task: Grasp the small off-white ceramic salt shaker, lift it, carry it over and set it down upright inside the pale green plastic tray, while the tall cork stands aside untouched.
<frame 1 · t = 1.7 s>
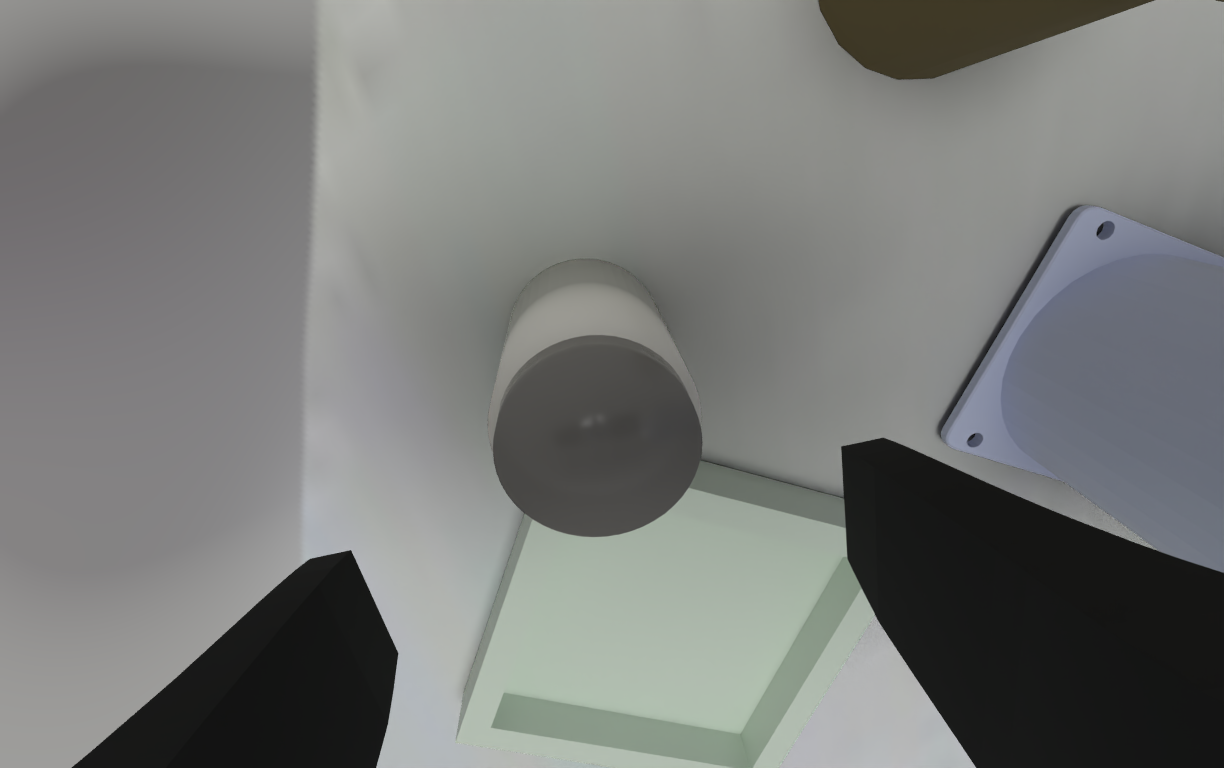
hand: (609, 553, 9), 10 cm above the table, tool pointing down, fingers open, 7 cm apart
tray: (666, 605, 23), on the table
salt shaker: (585, 333, 18), on the table
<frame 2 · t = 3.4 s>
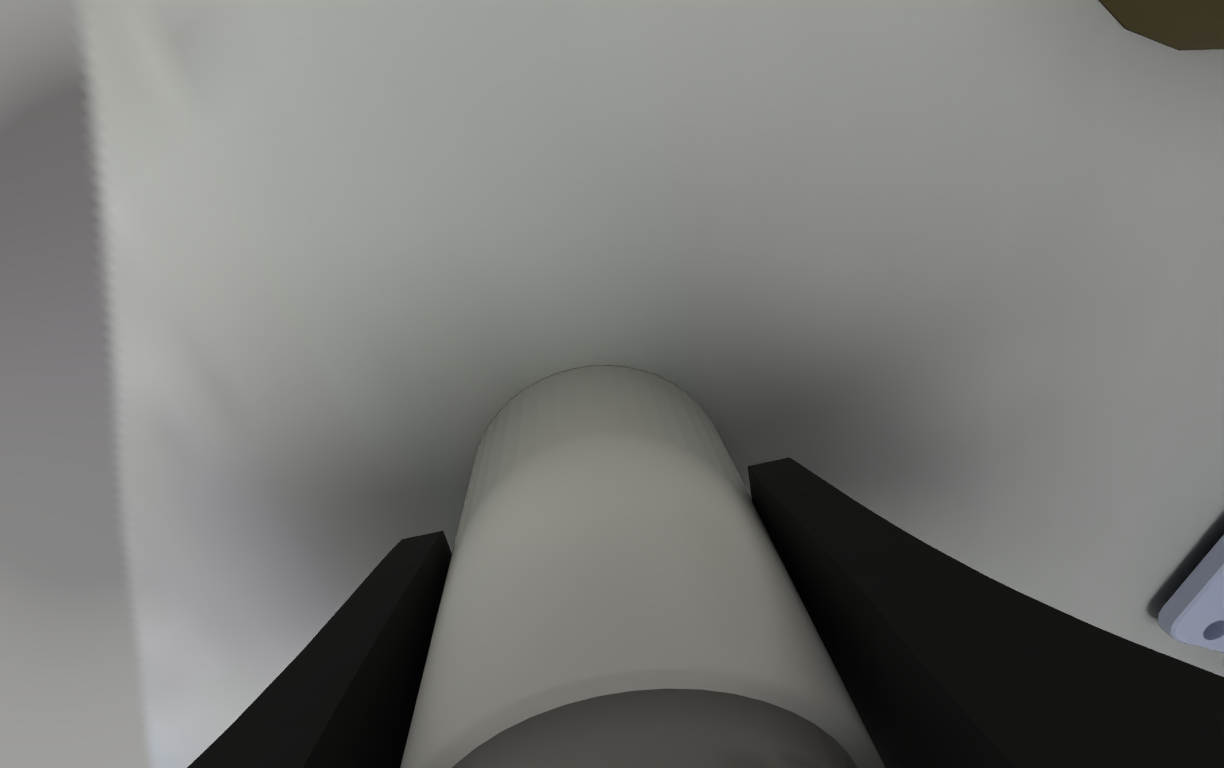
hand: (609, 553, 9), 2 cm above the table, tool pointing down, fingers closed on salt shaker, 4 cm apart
salt shaker: (601, 482, 11), on the table, touching gripper
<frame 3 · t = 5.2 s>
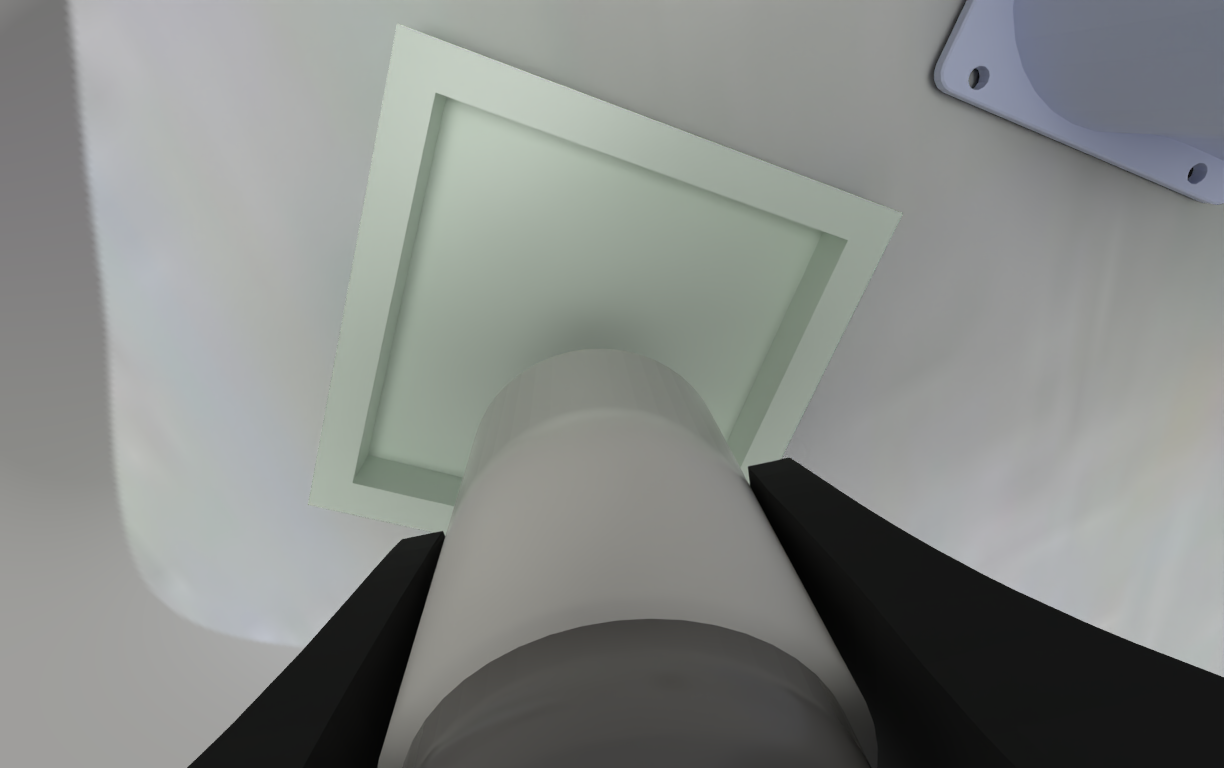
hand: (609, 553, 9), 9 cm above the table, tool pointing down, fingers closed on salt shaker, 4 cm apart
tray: (585, 341, 18), on the table
salt shaker: (597, 466, 11), point 7 cm above the table, touching gripper
when the fingers open (3 cm above the table, at t = 7.1 s): salt shaker stays where it is, resting on tray.
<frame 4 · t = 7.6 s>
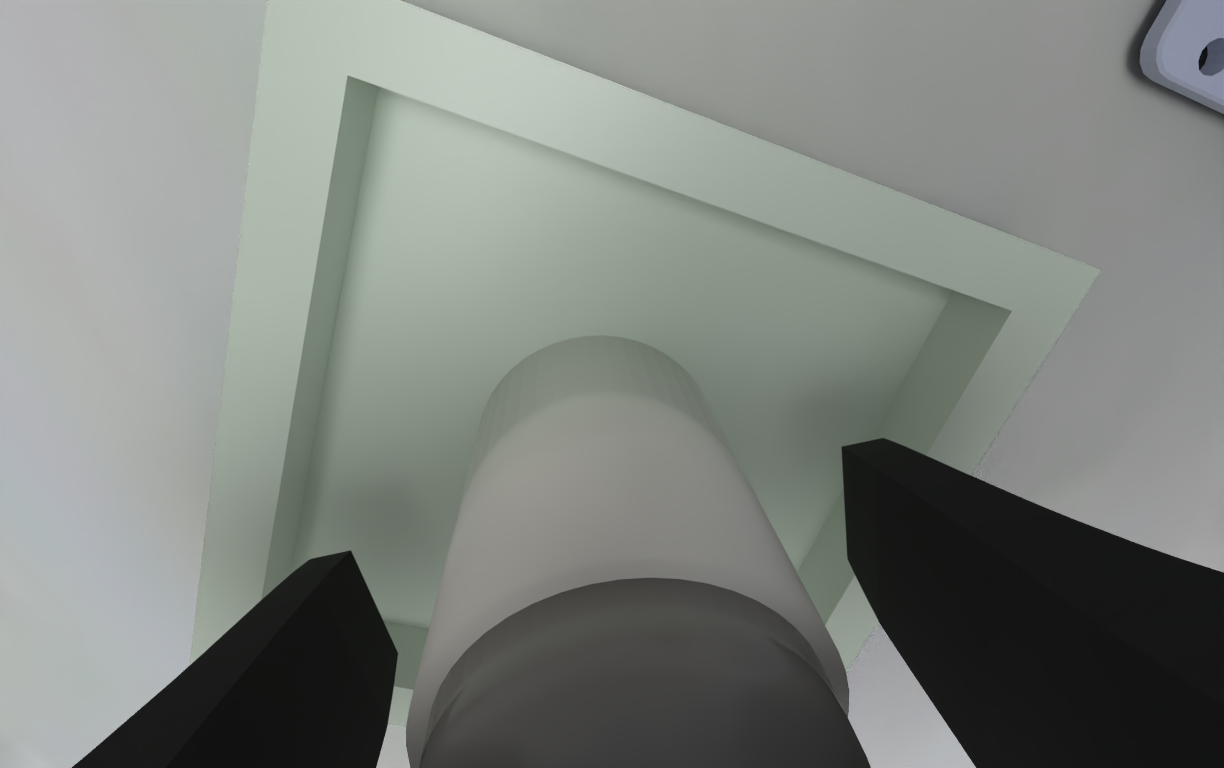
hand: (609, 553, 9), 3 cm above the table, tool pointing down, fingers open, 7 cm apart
tray: (596, 442, 12), on the table
salt shaker: (596, 446, 12), point 1 cm above the table, touching tray
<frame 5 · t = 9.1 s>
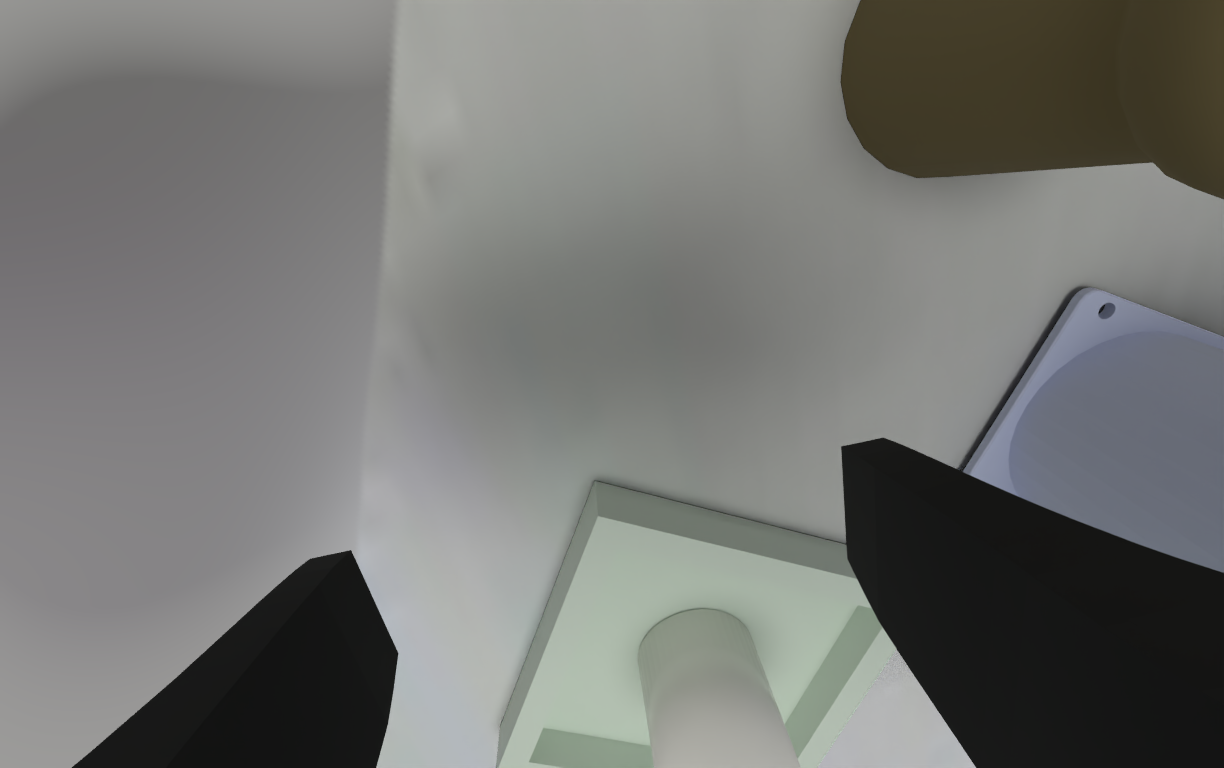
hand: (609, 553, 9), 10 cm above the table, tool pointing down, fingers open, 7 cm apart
tray: (692, 646, 24), on the table
salt shaker: (695, 654, 24), point 1 cm above the table, touching tray
cork: (948, 59, 17), on the table
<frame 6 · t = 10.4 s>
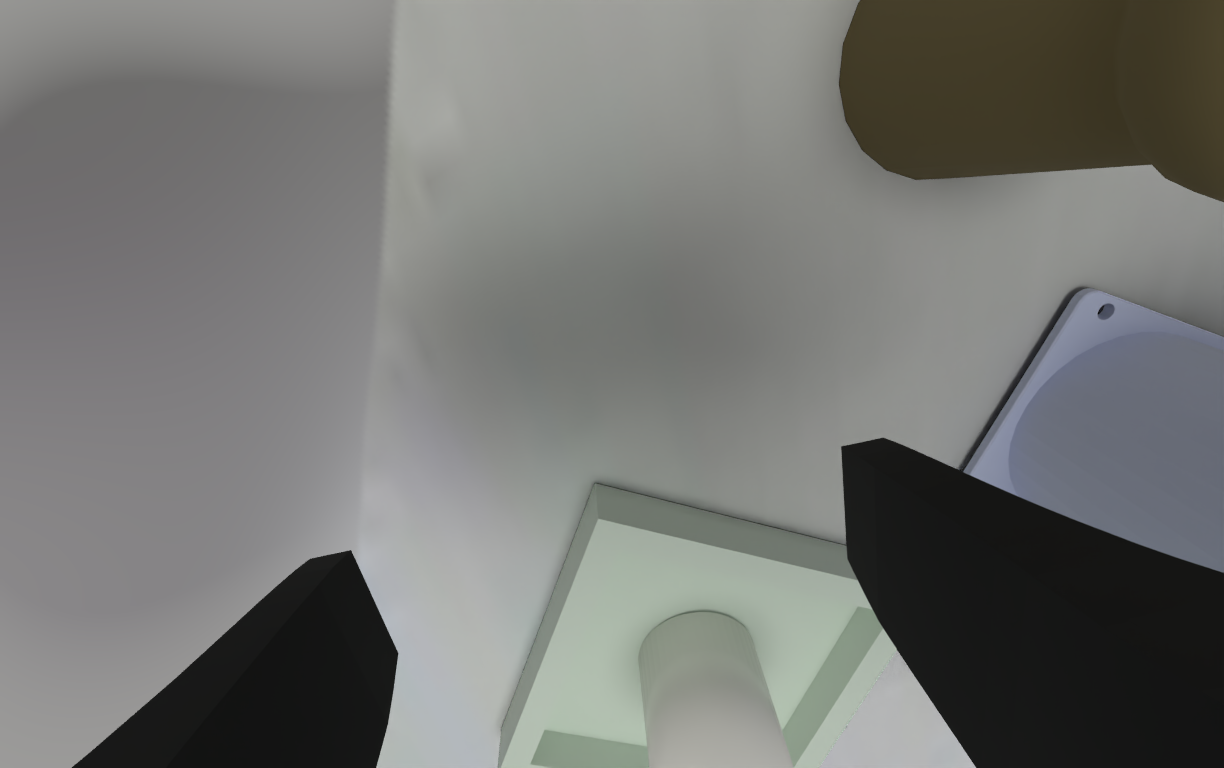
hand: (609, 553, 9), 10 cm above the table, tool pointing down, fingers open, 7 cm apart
tray: (693, 647, 24), on the table
salt shaker: (696, 656, 24), point 1 cm above the table, touching tray
cork: (946, 61, 17), on the table
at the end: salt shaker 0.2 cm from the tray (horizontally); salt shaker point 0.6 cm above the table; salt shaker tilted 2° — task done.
